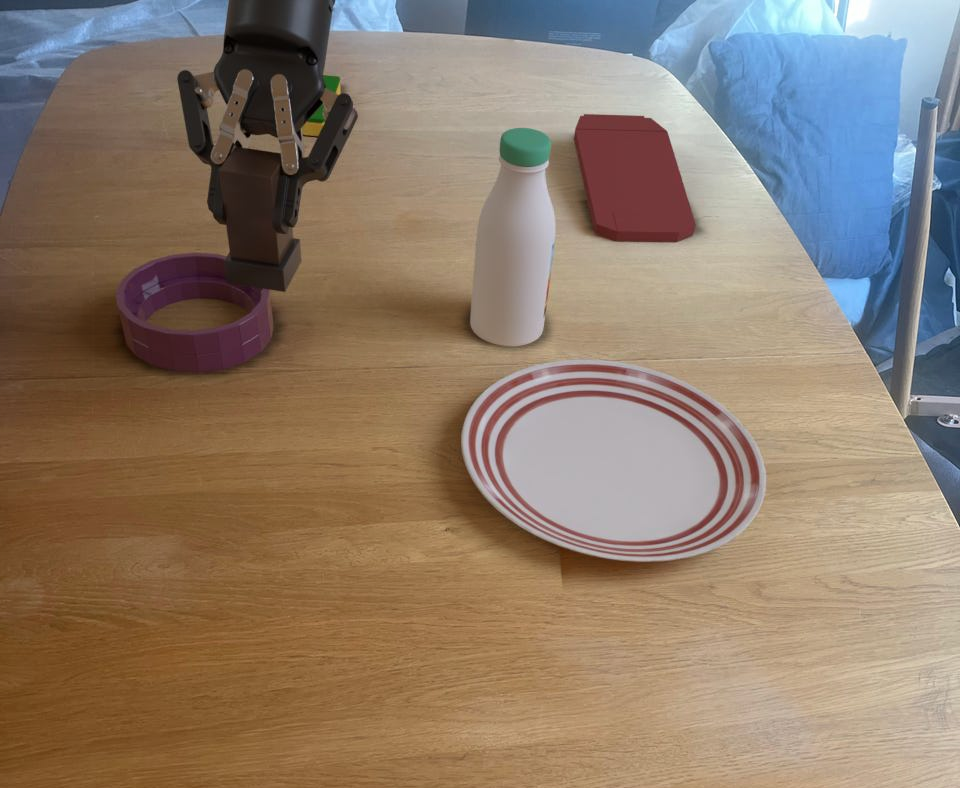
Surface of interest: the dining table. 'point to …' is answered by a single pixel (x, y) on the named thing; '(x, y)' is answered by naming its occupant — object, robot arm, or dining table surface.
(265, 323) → the ring
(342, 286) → the dining table surface
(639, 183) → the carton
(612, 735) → the dining table surface
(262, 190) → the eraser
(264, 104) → the robot arm
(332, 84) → the dish sponge
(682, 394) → the dinner plate
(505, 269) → the milk bottle
